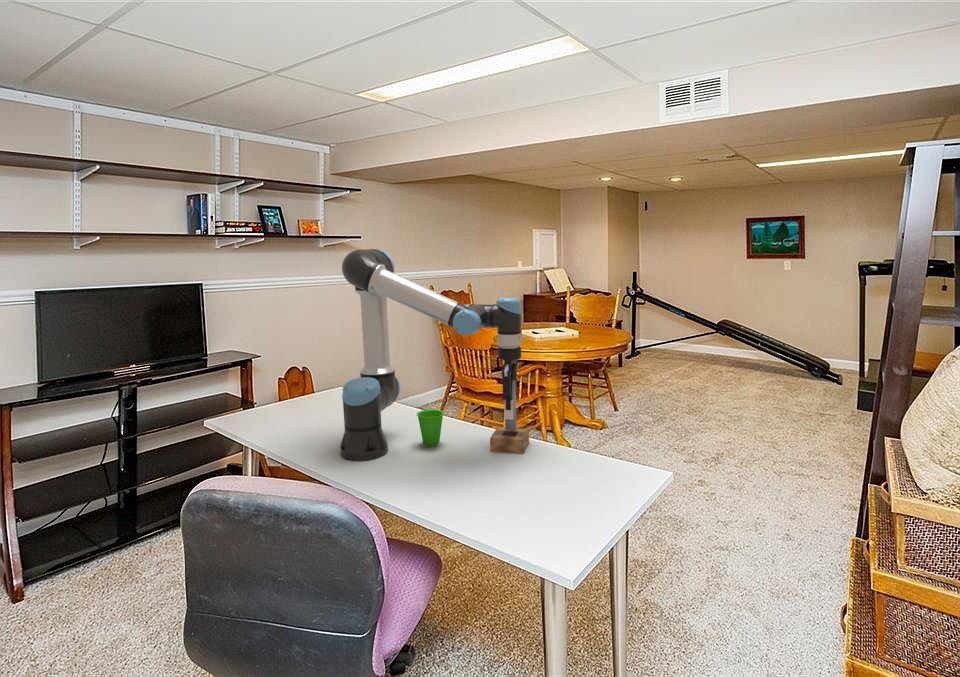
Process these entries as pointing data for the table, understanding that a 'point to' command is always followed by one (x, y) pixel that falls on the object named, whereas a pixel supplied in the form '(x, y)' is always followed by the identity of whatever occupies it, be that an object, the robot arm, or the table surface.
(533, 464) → the table surface
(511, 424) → the blue-grey rounded rod
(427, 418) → the cup
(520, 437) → the wooden socket block
